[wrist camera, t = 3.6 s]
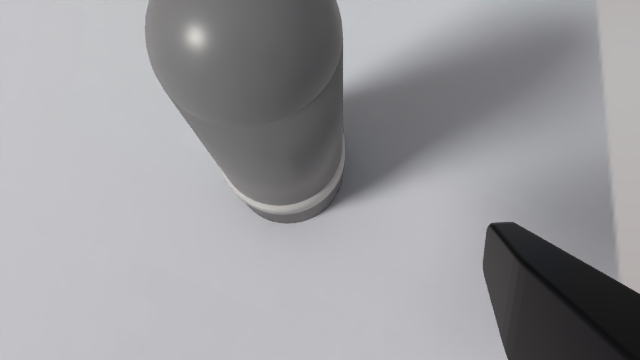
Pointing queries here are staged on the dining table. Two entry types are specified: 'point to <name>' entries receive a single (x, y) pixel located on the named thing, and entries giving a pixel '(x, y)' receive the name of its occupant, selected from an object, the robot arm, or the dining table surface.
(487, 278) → the robot arm
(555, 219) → the dining table surface
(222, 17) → the grey tall cylinder
